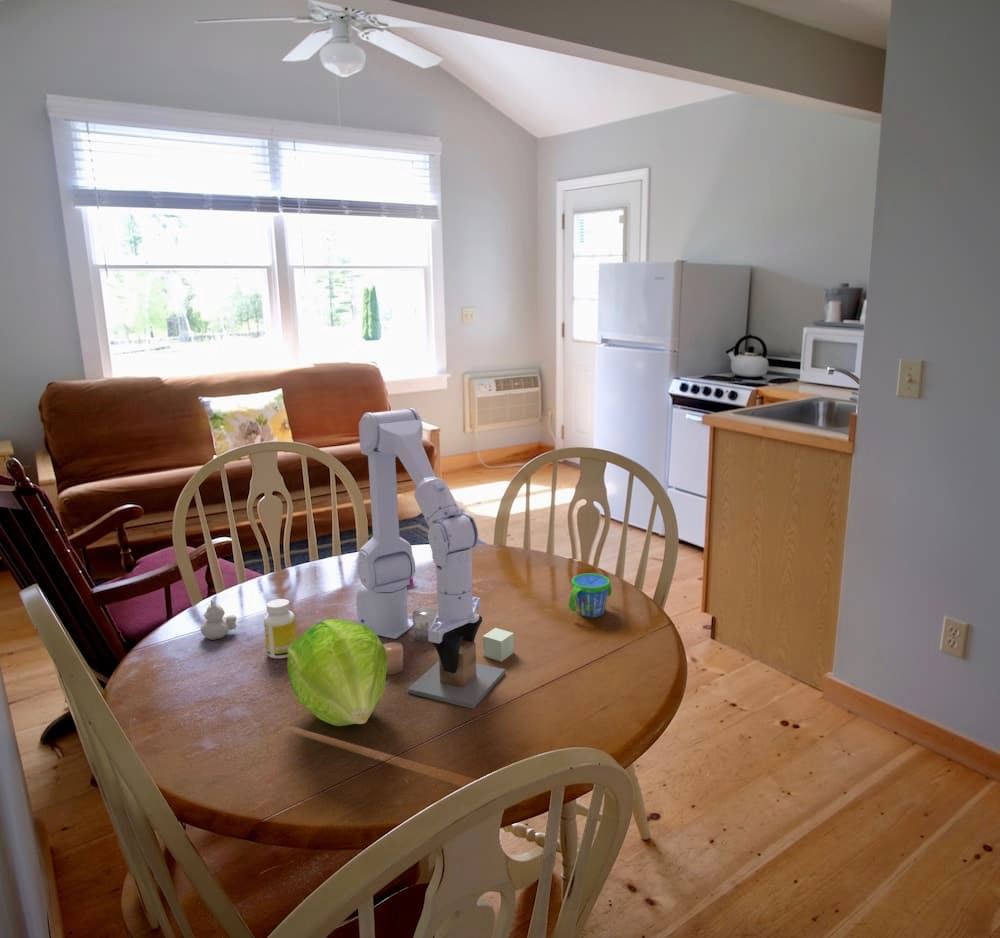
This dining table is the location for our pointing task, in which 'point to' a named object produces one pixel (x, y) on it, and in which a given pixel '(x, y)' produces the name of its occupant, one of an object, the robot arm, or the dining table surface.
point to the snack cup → (589, 594)
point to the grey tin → (423, 622)
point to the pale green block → (498, 644)
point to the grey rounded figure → (217, 622)
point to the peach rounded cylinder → (394, 657)
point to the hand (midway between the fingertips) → (457, 664)
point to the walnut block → (461, 666)
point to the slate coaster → (457, 695)
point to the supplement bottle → (279, 628)
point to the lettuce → (338, 671)
